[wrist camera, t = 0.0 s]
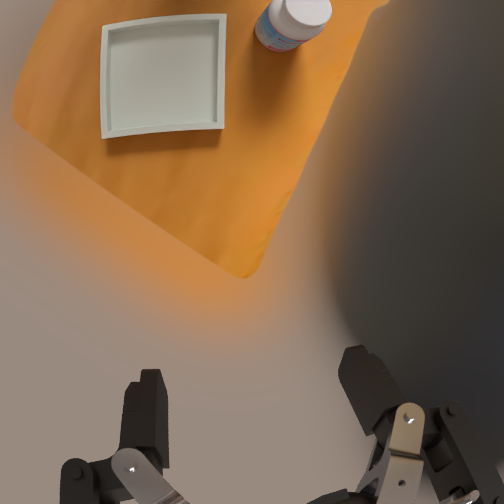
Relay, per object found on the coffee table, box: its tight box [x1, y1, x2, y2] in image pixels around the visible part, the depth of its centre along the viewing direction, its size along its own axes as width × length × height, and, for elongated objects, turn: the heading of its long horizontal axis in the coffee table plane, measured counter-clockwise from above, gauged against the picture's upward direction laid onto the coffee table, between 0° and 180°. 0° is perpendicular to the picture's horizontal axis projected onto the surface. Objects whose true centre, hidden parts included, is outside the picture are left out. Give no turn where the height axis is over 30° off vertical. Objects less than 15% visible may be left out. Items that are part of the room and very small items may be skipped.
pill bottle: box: [255, 0, 332, 52], centre depth 24 cm, size 6×6×11 cm
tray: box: [100, 14, 227, 139], centre depth 28 cm, size 15×15×2 cm
